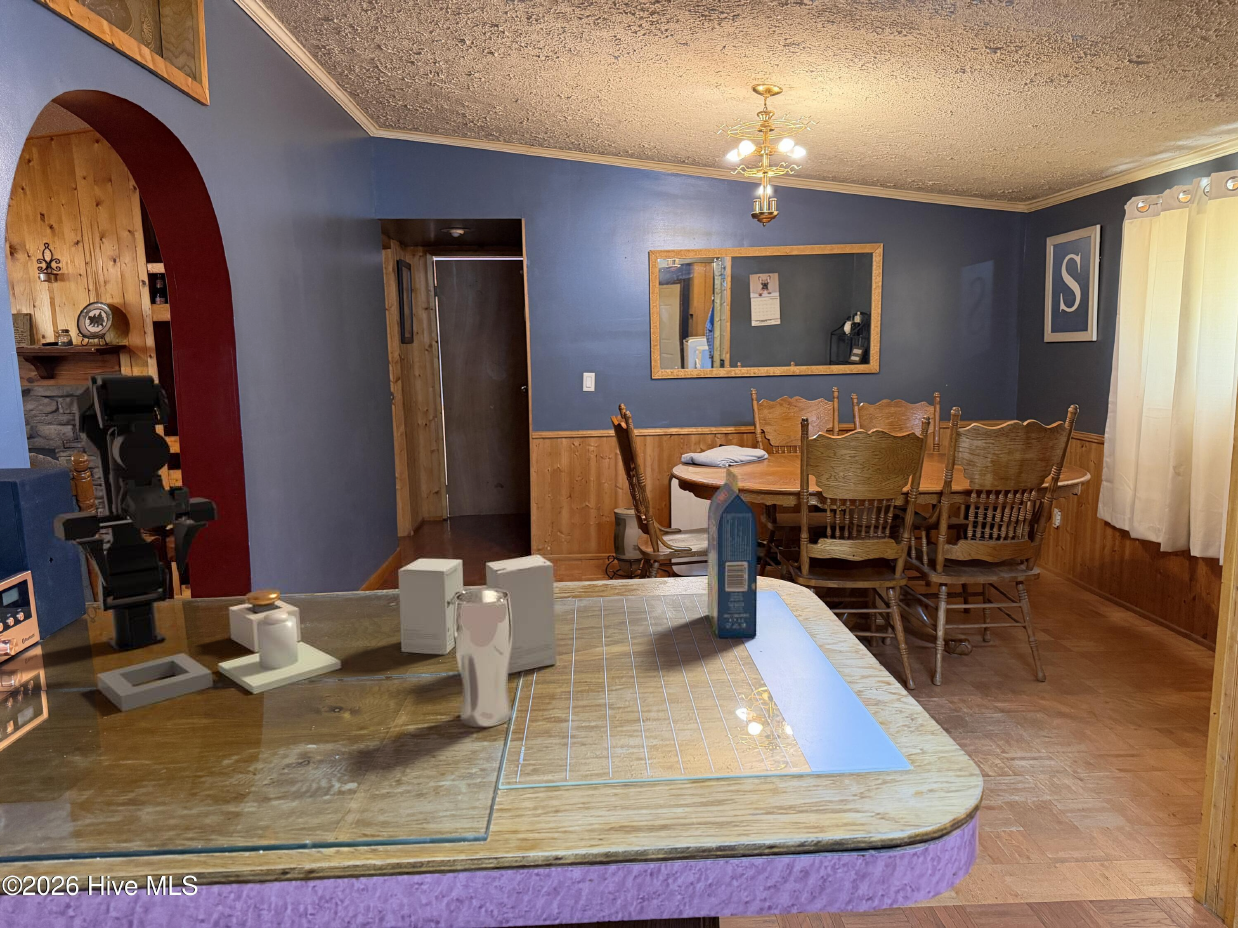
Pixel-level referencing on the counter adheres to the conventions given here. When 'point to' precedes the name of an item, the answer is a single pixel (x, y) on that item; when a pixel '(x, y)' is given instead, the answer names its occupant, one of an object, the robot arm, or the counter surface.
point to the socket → (131, 697)
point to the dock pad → (262, 679)
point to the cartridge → (277, 640)
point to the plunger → (262, 600)
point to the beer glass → (484, 654)
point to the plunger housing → (255, 623)
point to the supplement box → (429, 604)
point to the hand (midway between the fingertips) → (144, 578)
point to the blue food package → (732, 562)
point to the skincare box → (528, 609)
